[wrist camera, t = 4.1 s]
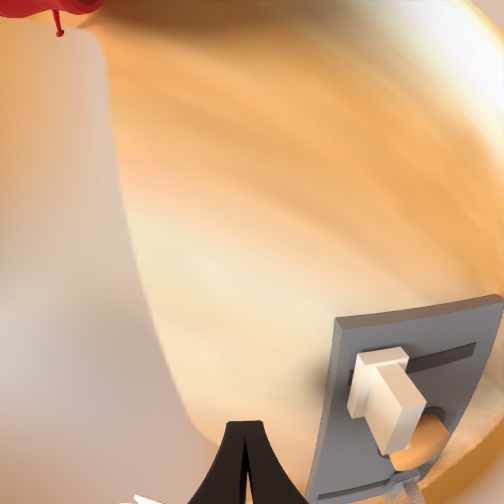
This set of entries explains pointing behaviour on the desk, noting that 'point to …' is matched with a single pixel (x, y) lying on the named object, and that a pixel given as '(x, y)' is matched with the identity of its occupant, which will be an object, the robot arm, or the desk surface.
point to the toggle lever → (386, 398)
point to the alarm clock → (47, 8)
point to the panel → (420, 373)
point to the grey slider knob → (403, 488)
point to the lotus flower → (144, 500)
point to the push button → (421, 444)
